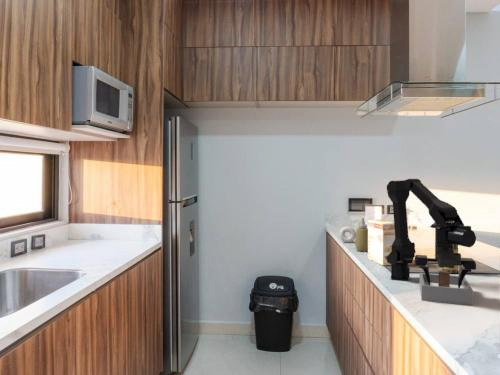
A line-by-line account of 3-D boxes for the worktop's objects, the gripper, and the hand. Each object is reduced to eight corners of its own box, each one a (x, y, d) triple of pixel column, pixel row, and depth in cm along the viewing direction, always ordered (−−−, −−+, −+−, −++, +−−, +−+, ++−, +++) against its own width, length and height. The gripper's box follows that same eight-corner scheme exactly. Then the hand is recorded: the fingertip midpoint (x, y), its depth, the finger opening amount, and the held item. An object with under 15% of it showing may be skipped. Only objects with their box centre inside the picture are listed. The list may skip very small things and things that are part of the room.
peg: (438, 296, 133) (439, 273, 133) (437, 293, 137) (438, 270, 136) (450, 297, 132) (450, 274, 132) (448, 294, 135) (449, 271, 135)
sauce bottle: (443, 269, 169) (444, 224, 168) (459, 271, 165) (460, 225, 164) (439, 272, 164) (440, 226, 163) (456, 274, 160) (456, 227, 159)
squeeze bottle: (354, 251, 208) (354, 218, 207) (355, 249, 216) (355, 217, 215) (369, 252, 205) (369, 219, 204) (370, 249, 213) (370, 217, 212)
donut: (355, 242, 236) (355, 226, 235) (355, 243, 233) (355, 226, 232) (339, 241, 238) (339, 225, 238) (339, 242, 235) (338, 226, 235)
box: (421, 300, 129) (421, 285, 129) (419, 286, 145) (419, 272, 145) (472, 305, 124) (472, 290, 124) (464, 290, 140) (464, 276, 139)
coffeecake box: (396, 265, 178) (396, 223, 177) (382, 265, 177) (382, 223, 176) (380, 258, 193) (380, 219, 192) (367, 258, 191) (367, 219, 191)
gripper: (415, 244, 130) (415, 290, 130) (479, 248, 123) (478, 296, 123) (414, 239, 140) (414, 281, 141) (473, 242, 133) (472, 286, 134)
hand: (443, 286), depth 134 cm, fingers open, 9 cm apart
